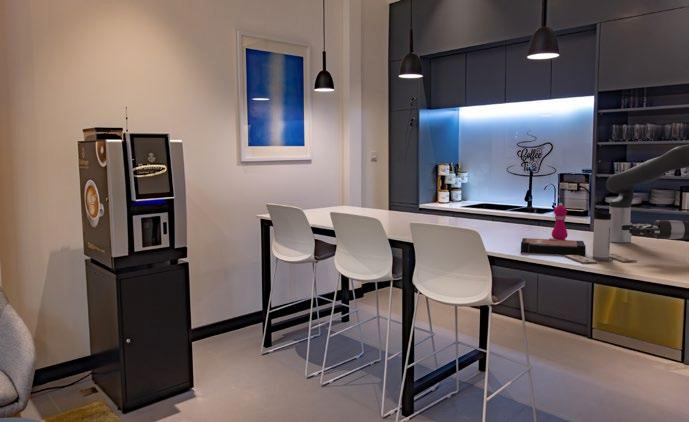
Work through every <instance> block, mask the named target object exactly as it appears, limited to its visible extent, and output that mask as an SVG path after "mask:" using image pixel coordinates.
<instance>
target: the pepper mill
mask: <svg viewBox="0 0 689 422" xmlns="http://www.w3.org/2000/svg"><path fill="white" fill-rule="evenodd" d="M553 213H554V219H555V224H554V227H553V229H552V231H551V238H554V239H556V240H566V239H567V237H568V231H567V228H566V226H565V221H566V218H567V216H566V215H567V213H568V209H567V208H566V207H565V206H564V205H563V202H559V203H558V205H557V206H555V207H554V209H553Z"/></svg>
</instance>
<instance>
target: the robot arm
mask: <svg viewBox="0 0 689 422" xmlns="http://www.w3.org/2000/svg"><path fill="white" fill-rule="evenodd" d="M687 168H689V144H685V145H684V144H683V145H679V146H676V147H674V148H672V149H670V150H668V151H667V152H666V153H664V154H662V155H661V156H657V157H654V158H650V159H648V160H646V161H643V162H642V163H639V164H638V165H635V166H633V167H631V168H629V169H627V170H625V171H621V172H618V173H615V174H612V175H610V176H609V177H608V178H607V180H606V183H605V186H606V187H605V188H606V190H607V191H609V192H611V193H613V194H618V196H617V197H616V198H613V199H611V200H610V201H609V212H608V213H609V214H610V213H611V233H610V243H611V242H612V243H620V244H623V243H626V244H628V243H630V242H632V234H635V235H636V234H640V235H644V236H653V237H654V238H655V239H657V240H658V239H659V240H660V239H665V240H667V239H668V240H669V239H671V240H677V239H678V240H679V239H689V220H675V219H673V220H670V219H669V220H668V219H667V220H666V219H665V220H664V219H660V220H659V219H658V220H657V219H656V220H655V221H654V222H653V224H649V223H632V222H631V211H632V210H631V209H632V203H633V200H634V192H635V186H638V185H642V184H647V183H652V182H654V181H656V180H658V179H660V178H662V177H663V176H664V175H665V174H666V173H669V172H672V171H676V170H680V169H687Z"/></svg>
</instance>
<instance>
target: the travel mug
mask: <svg viewBox="0 0 689 422" xmlns="http://www.w3.org/2000/svg"><path fill="white" fill-rule="evenodd" d="M593 213H594V218H593V219H594V220H593V238H592V240H593V241H592V256H593V257H592V256H591V257H592V258H593V259H597V260H608V259H609V254H611V253H610V252H611V251H610V250H611V249H610V248H611V242H610V233H611V213H610V212H605V211H598V210H593ZM609 213H610V214H609Z"/></svg>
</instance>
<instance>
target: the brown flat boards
mask: <svg viewBox="0 0 689 422" xmlns="http://www.w3.org/2000/svg"><path fill="white" fill-rule="evenodd" d="M564 257H565V258H566V257H567V258H566V259H569V260H571V259H572V260H571V261H574V260H575V261H574V262H577V263H579V262H580V264H582V265H584V264H585V265H588V264H589V265H591V264H592V265H593V264H598V262H600V263H602V262H603V263H606V262H607V263H611V262H613V261H618V262H620V263H637V262H638V260H637V259H635V258H631V257H628V256H624V255H621V254H618V253H609V259H608V260H597V259H593V258H592V257H593V255H592V256H588V257H586V256H585V257H583V256H580V255H564Z"/></svg>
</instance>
